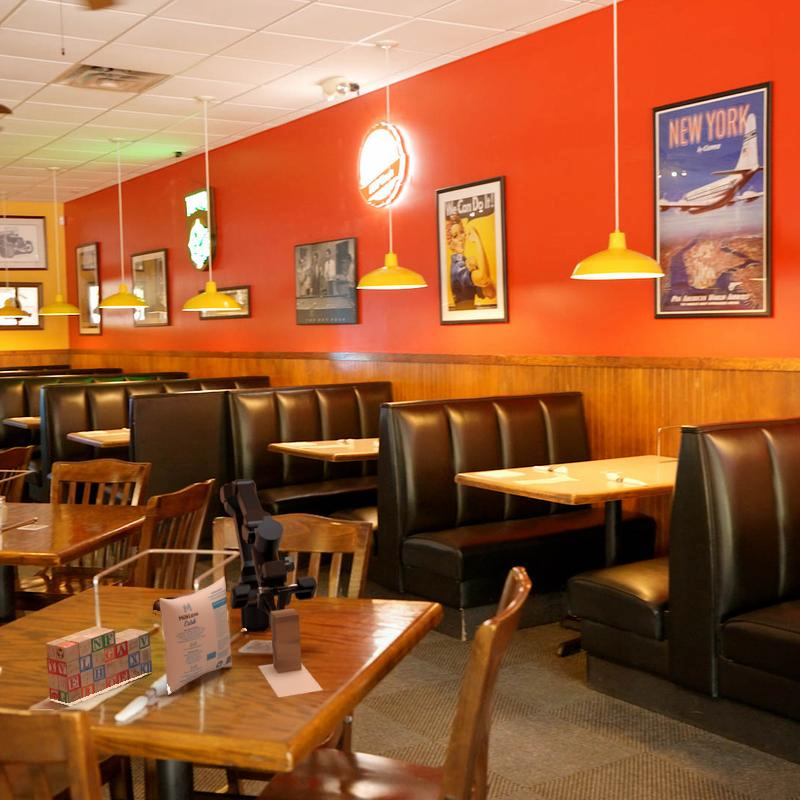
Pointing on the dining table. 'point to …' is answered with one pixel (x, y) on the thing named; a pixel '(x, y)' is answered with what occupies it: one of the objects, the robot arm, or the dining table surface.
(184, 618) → the pouch
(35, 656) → the dining table surface
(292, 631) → the walnut block
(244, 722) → the dining table surface
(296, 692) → the placemat
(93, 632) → the stack of blocks
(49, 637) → the dining table surface
